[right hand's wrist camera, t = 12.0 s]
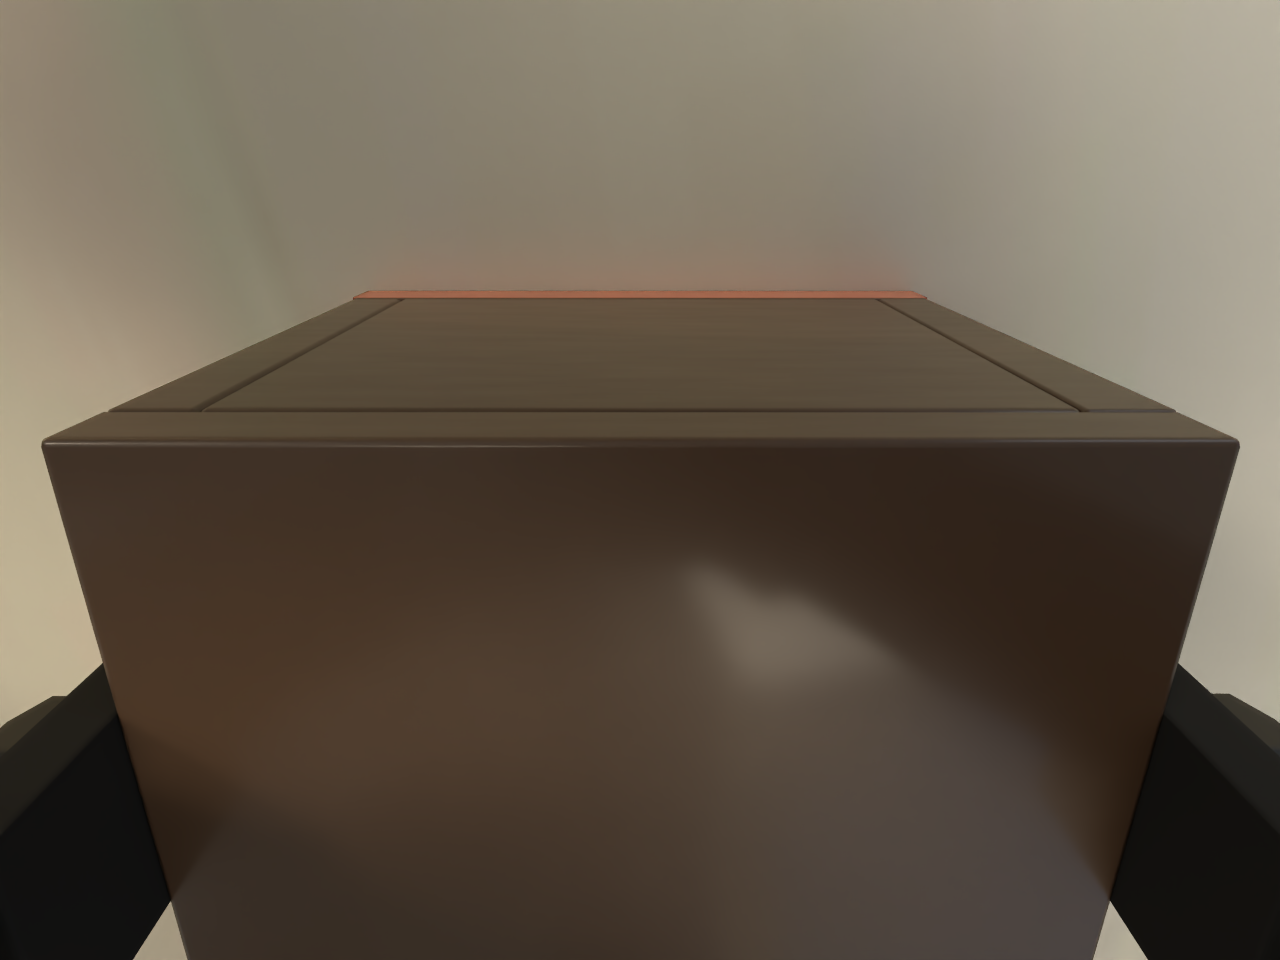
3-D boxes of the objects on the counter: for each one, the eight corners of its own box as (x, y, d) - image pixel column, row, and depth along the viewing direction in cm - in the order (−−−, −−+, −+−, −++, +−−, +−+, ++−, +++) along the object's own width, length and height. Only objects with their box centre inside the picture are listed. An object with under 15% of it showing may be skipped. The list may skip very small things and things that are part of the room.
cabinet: (834, 938, 23) (959, 1434, 14) (445, 938, 23) (320, 1435, 14) (913, 290, 16) (1248, 438, 7) (367, 290, 16) (31, 437, 7)
